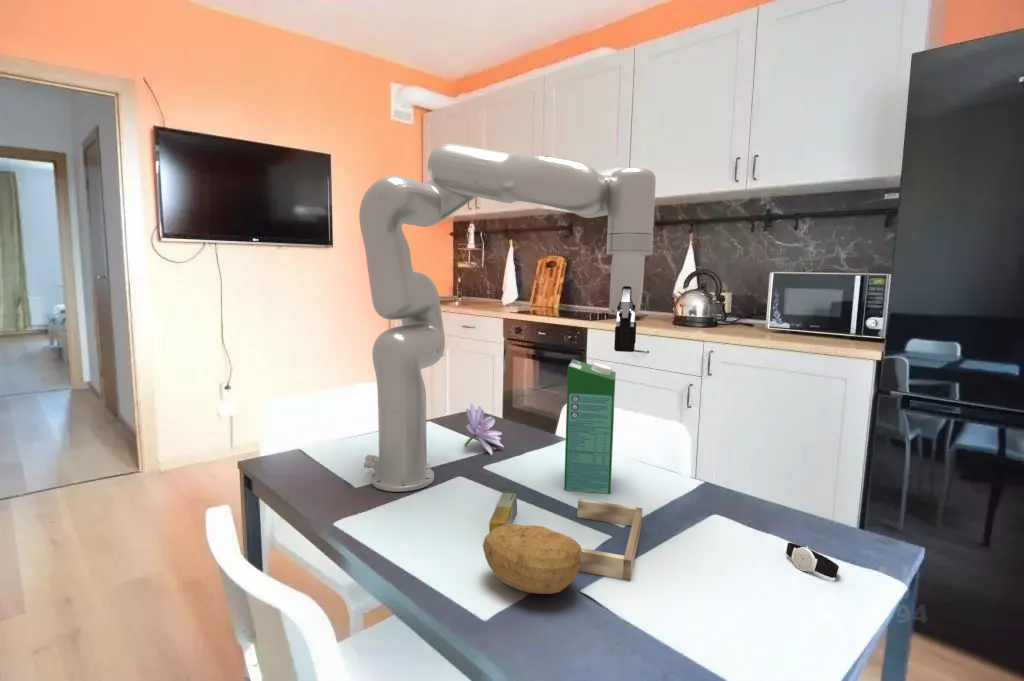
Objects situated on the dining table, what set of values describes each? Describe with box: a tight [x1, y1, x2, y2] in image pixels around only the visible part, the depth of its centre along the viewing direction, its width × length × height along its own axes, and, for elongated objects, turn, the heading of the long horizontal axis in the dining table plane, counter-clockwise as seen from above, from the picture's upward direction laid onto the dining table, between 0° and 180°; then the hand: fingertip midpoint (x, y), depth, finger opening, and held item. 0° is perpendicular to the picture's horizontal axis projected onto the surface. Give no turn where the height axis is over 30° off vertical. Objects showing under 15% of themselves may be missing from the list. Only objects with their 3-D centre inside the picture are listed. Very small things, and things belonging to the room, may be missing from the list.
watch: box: [785, 542, 840, 579], centre depth 80 cm, size 8×5×4 cm, turn 24°
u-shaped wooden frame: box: [576, 498, 643, 582], centre depth 86 cm, size 11×18×3 cm, turn 161°
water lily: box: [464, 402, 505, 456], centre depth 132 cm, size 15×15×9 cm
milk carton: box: [563, 358, 617, 495], centre depth 109 cm, size 9×9×25 cm
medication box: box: [488, 491, 518, 533], centre depth 91 cm, size 12×3×4 cm, turn 171°
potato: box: [482, 523, 582, 595], centre depth 74 cm, size 10×14×8 cm
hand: (625, 347), depth 92 cm, fingers open, 9 cm apart
